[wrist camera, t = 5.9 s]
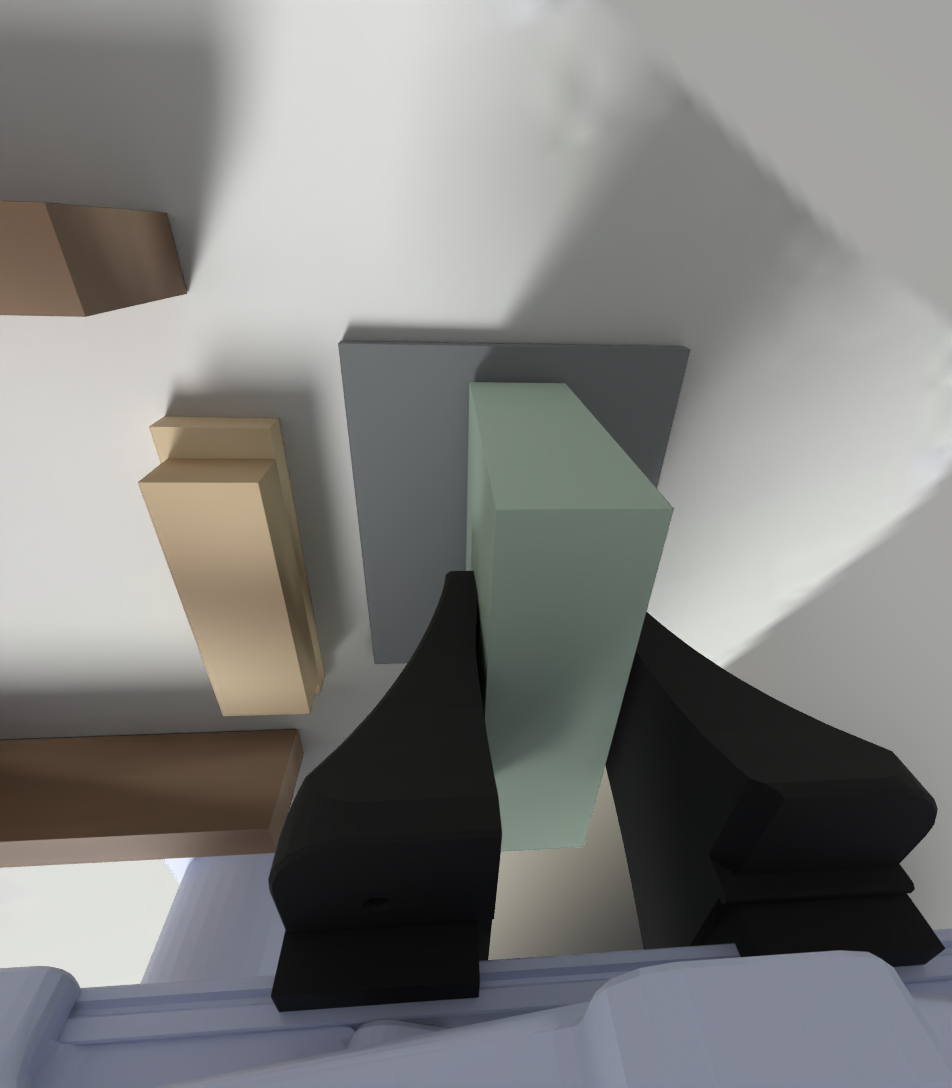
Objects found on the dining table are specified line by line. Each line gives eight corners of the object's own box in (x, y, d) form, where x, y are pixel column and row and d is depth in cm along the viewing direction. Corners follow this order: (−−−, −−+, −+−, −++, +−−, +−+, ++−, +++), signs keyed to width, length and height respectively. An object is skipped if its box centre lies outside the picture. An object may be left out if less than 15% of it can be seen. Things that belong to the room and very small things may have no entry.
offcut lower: (328, 663, 19) (320, 693, 18) (249, 665, 19) (235, 695, 18) (285, 410, 14) (269, 428, 13) (175, 409, 14) (148, 426, 13)
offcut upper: (319, 679, 18) (309, 713, 16) (238, 681, 17) (223, 716, 16) (275, 458, 13) (257, 482, 12) (167, 458, 13) (137, 482, 12)
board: (534, 641, 18) (583, 847, 12) (464, 643, 17) (477, 852, 11) (565, 383, 13) (674, 508, 7) (469, 382, 13) (495, 509, 7)
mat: (612, 649, 19) (615, 657, 19) (376, 656, 18) (374, 663, 18) (683, 346, 13) (690, 349, 13) (340, 340, 13) (338, 343, 12)
